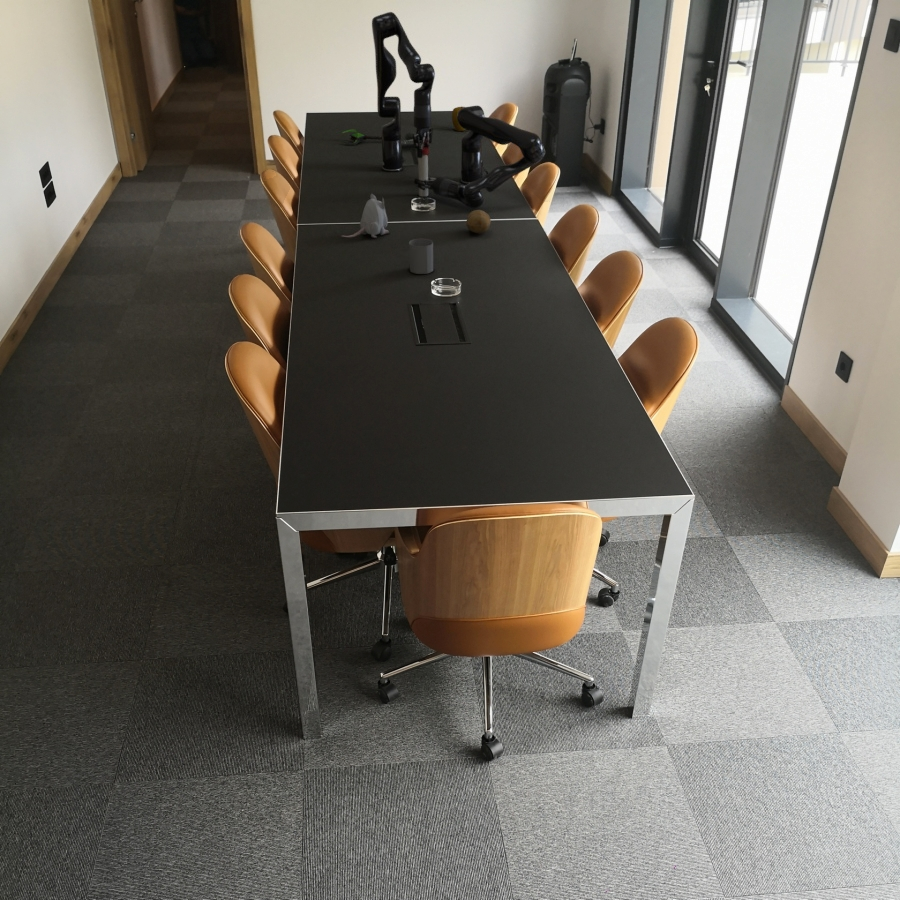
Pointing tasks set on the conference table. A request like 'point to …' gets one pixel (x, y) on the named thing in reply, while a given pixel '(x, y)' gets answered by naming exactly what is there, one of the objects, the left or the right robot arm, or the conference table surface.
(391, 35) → the left robot arm
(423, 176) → the white tall cylinder
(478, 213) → the potato
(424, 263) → the cup
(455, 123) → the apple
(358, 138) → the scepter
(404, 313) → the conference table surface
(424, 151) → the lid
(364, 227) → the toy
